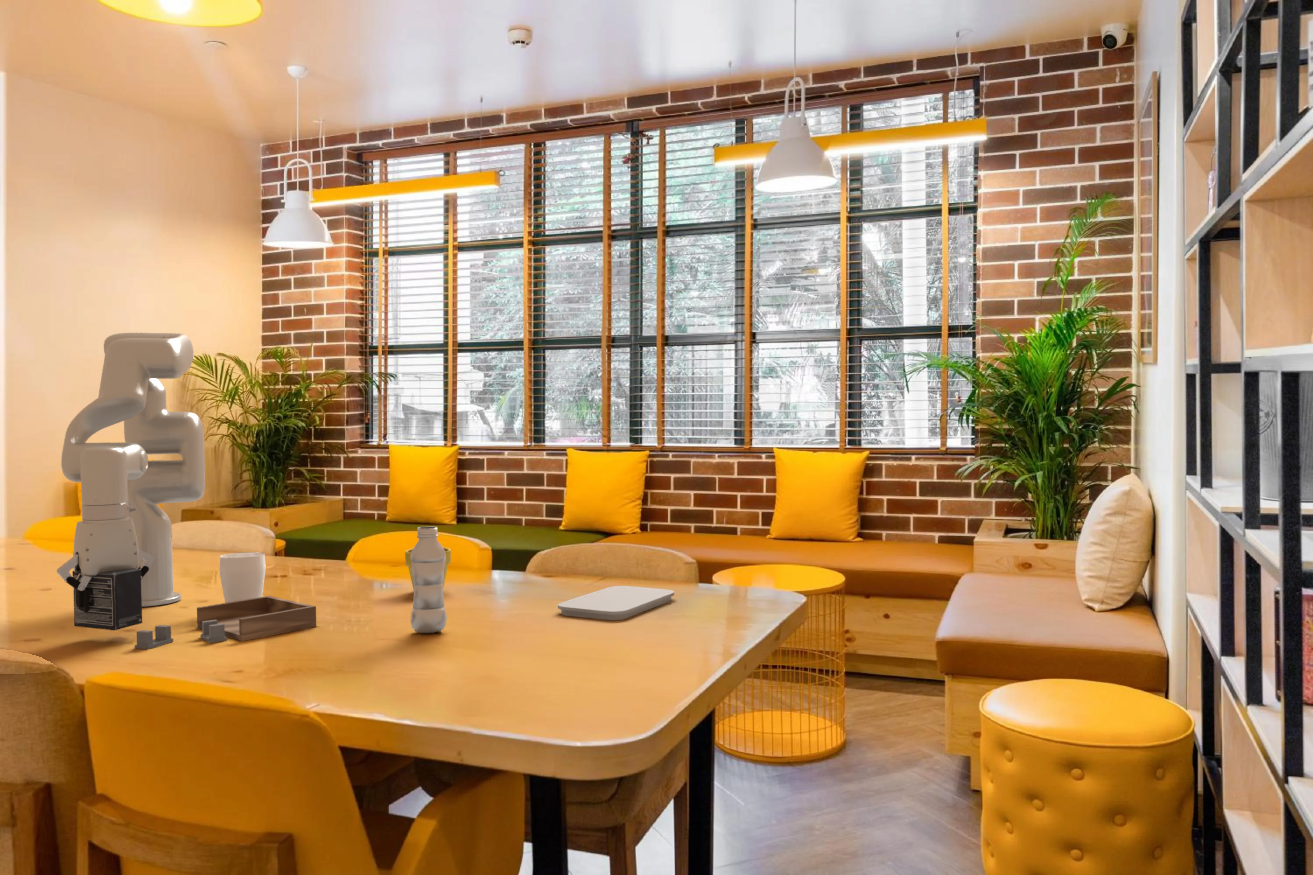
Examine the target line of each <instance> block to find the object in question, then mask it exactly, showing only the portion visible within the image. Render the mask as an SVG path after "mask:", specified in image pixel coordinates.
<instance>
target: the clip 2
mask: <svg viewBox="0 0 1313 875" xmlns="http://www.w3.org/2000/svg"><path fill="white" fill-rule="evenodd" d="M201 631H202V633H201V634H199V635H200V638H201V639H202V640H203V641H206V642H207V643H209V644H211V643H218V642H219V643H221V642H225V641H227V640H228V639H227V638H228V637H227V636H225V626H224V624H223V623H221V624H218V623H217V620H209V621H202V629H201Z"/></svg>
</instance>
